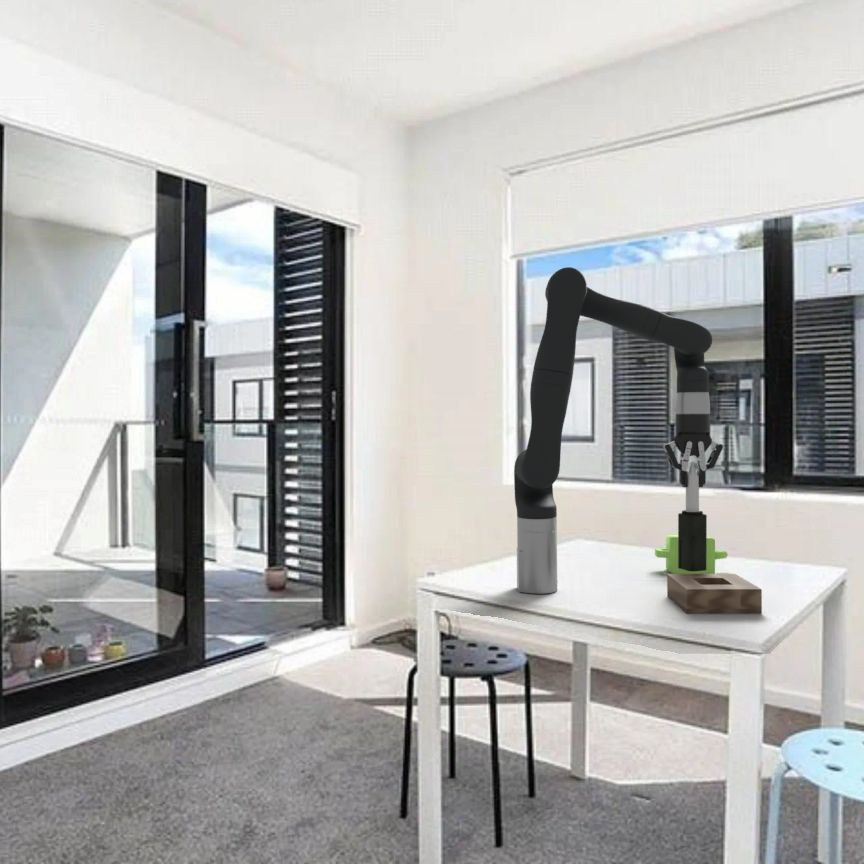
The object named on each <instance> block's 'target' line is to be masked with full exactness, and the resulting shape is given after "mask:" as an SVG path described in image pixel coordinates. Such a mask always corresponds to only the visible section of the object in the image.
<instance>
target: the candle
mask: <svg viewBox="0 0 864 864" xmlns="http://www.w3.org/2000/svg"><path fill="white" fill-rule="evenodd" d="M677 515H678V516H677V518H678V519H677V520H678V521H677V525H678V526H677V528H678V529H677V531H678V532H677V533H678V534H677V535H678V568H679V569H684V570H687V571H705V570H706V557H707V537H708V536H707V535H708V534H707V528H708V527H707V518H708V516H707V514H705V513H704V512H703V511H702V510H700V487H699V476H698V474H697V470H696V467H695V462H694V461H691V462H690V467H689V469H688V486H687V487H685V510H683V509H682V510H681V512H680V513H678V514H677Z"/></svg>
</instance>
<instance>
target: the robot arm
mask: <svg viewBox="0 0 864 864" xmlns="http://www.w3.org/2000/svg"><path fill="white" fill-rule="evenodd" d="M544 295H545V299H546V303H547V304H546V305H547V306H546V317H545V325H544V330H543V333H542V336H541V338H540V339H541V340H540V341H539V345H538V349H537V352H536V357H535V360H534V365H533V368H532V369H533V370H532V376H531V383H530V392H529V402H530V416H531V418H530V419H531V423H530V424H531V425H530V432H529V437H528V442H527V446H526V449H525V450H522V452H520V453H519V454H518V456H517V457H516V459H515V461H514V467H513V468H514V470H513V474H514V475H513V479H514V482H513V483H514V484H513V485H514V502H515V506H516V521H517V522H516V525H517V526H516V528H517V529H516V531H517V532H516V535H517V538H516V542H517V547H516V587H517V591H518V593H527V594H533V595H535V594H536V595H538V594H540V595H541V594H542V595H543V594H553V593H556V592H557V591H558V532H557V531H558V530H557V529H558V525H557V524H558V520H557V519H558V518H557V516H558V514H557V509H558V508H557V505H556V502H555V499H554V491H553V490H554V488H553V485H554V483H556V481H557V479H558V477H559V475H560V470H561V469H560V467H561V450H562V449H561V448H562V438H563V437H562V436H563V428H564V424H565V419H566V415H567V410H568V404H569V399H570V394H571V389H572V382H573V376H574V370H575V368H574V367H575V360H576V359H575V358H576V347H577V346H576V345H577V344H576V343H577V332H578V325H579V322H580V317H584V318H588V319H592V320H594V321H595V320H596V321H598V322H601V323H604V324H607V325H609V326H612V327H614V328H617V329H620V330H622V331H625V332H627V333H629V334H632V335H634V336H636V337H639V338H642V339H644V340H647V341H648V342H652V343H656V344H665V345H667V346H669V347H672V348H673V352H674V353H673V354H674V362H675V368H676V399H675V408H674V412H675V436H674V438H673V441H670V442H668V443H663V444H662V449H663V451H664V453H665V456H666V458H667V460H668V463H669V464H670V466H671V468H674V469H677V470H678V474H679V475H678V477H679V478H678V479H679V480H678V481H679V485H681V487H683V488H686V487H687V486H688V472H689V470H688V464H689V461H690V457H692V456H694V457H695V461H696V463H697V464H696V465H697V468H698V470H696V473H697V474H698V476H699V488H704V485H706V481H707V480H706V473H707V471H708V470H710V469H713V468H714V467H715V466H716V465H717V462H718V459H719V458H720V456H721V455H720V454H721V453H722V450H723V448H724V445H723V444H722V443H717V442H715V441H713V439H712V437H711V434H710V433H711V401H710V393H709V392H710V389H709V388H710V384H709V383H710V382H709V381H710V379H709V376H710V375H709V371H708V369H707V368H706V365H705V364H706V363H705V353H706V352H707V351H708V350H710V348H711V346H712V344H713V335H712V333H711V332H710V330H709V329H708V328H706V327H705V326H703V325H701V324H700V323H696V322H694V321H690V320H686V319H683V318H679V317H675V316H671V315H669V314H666V313H664V312H661V311H659V310H656V309H655V308H652V307H650V306H647V305H644V304H641V303H637V302H634V301H633V302H632V301H629V300H624V299H619V298H616V297H611V296H608V295H606V294H602V293H600V292H598V291H596V290H594V289H592V288H590V287H588V283H587V280H586V278H585V276H584V274H583V273H582V272H581V271H580V270H579V269H577V268H576V267H575V268H574V267H570V266H566V267H562V268H561V269H558V270H557V271H555V272H554V273H553V274H552V275H551V277H550V278H549V280H548V282H547V284H546V287H545V293H544ZM675 447H676V449H677V450H678V451H679V462H678V460H677V457H676V455H675V453H674V452H675ZM709 448H710V451H711V452H710V454H709V456H708V459H706V451H707V450H708V449H709ZM706 460H707V461H706Z"/></svg>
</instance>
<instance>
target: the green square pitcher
mask: <svg viewBox="0 0 864 864" xmlns="http://www.w3.org/2000/svg"><path fill="white" fill-rule="evenodd" d="M654 556H655V557H656V558H661V559H662V558H663V559H665V569H666V570H667V571H668V572H669V574H716V560H720V559H721V560H722V559H727V558H728V556H729V555H728V552H727V550H723V549H722V550H716V539H715V538H713V537H710V536H707V557H706V570H705V571H687V570H684V569H679V568H678V534H675V535H674V534H669V535H667V534H666V535H665V548H654Z"/></svg>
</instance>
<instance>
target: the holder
mask: <svg viewBox="0 0 864 864" xmlns="http://www.w3.org/2000/svg"><path fill="white" fill-rule="evenodd" d="M666 579H667V581H666V582H667V583H666V587H667V588H666V589H667V591H666V592H667V593H666V594H667V597H668V598H669V599H670V600H671V601H674V602H673V603H674V604H676V605H677V607H679V608H680V609H681V610H682V611H683V612H685V614H687V615H688V614H695V615H696V614H699V615H700V614H704V615H706V614H707V615H710V614H711V615H713V614H714V613H716V614H717V613H762V610H763V608H762V607H763V606H762V605H763V604H762V603H763V602H762V598H763V597H762V596H763V594H762V592H763V590H762V588H760V587H758V586H757V585H756V584H754V583H751V582H750V581H748V580H747V579H744V578H743V577H741V576H740V575H738V574H737V573H715V574H673V573H667V574H666ZM716 614H715V615H716ZM762 614H763V613H762ZM717 615H718V614H717Z"/></svg>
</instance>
